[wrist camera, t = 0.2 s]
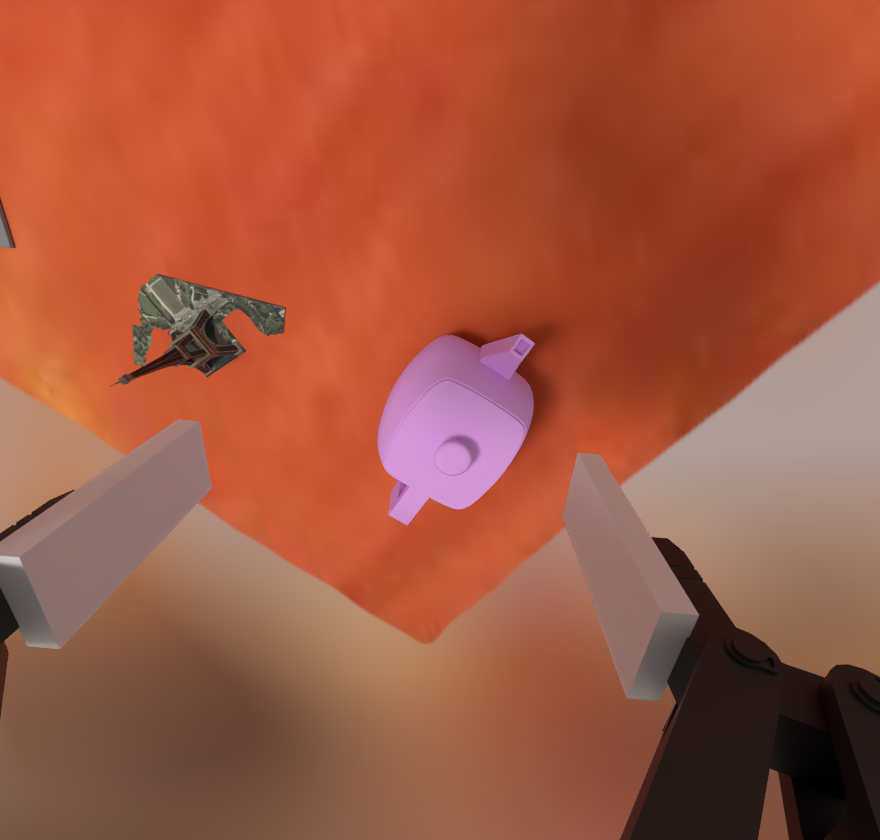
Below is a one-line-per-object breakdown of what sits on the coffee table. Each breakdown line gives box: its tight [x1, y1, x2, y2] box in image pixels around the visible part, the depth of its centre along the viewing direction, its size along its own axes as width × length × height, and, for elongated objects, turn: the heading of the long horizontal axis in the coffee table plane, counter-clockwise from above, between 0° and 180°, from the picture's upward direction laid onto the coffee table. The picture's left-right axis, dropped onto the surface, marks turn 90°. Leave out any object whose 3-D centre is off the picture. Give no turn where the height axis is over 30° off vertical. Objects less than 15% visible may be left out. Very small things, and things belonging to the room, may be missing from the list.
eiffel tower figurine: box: [110, 274, 285, 386], centre depth 37 cm, size 15×10×13 cm
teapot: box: [378, 334, 535, 525], centre depth 38 cm, size 20×12×13 cm, turn 148°
